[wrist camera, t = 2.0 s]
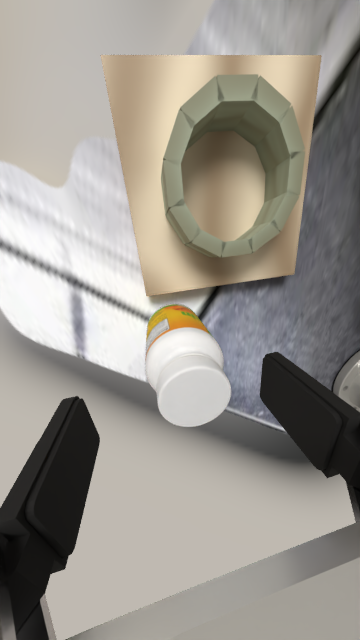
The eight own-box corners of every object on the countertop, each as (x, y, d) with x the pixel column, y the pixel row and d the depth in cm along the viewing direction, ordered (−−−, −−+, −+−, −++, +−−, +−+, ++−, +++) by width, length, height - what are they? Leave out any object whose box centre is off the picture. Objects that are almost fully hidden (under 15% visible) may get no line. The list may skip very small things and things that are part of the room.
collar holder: (302, 77, 13) (365, 3, 9) (282, 272, 18) (317, 277, 14) (106, 80, 11) (85, -8, 7) (146, 292, 16) (145, 303, 13)
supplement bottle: (208, 324, 18) (263, 389, 9) (174, 358, 19) (196, 448, 10) (171, 291, 17) (196, 333, 8) (135, 331, 17) (120, 411, 8)
